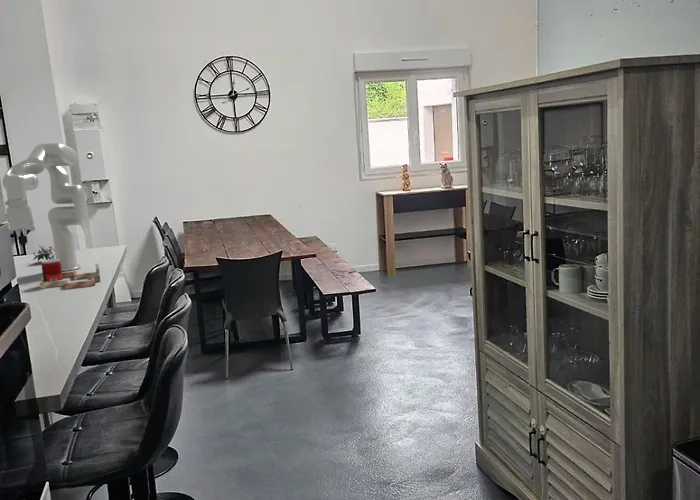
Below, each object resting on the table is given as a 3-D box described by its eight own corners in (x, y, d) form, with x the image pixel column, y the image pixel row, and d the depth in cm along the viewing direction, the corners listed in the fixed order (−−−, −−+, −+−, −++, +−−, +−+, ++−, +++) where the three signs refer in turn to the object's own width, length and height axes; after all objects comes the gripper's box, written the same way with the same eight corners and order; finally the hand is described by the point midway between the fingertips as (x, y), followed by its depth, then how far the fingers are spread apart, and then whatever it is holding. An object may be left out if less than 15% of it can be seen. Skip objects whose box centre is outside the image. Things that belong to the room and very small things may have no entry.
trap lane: (39, 292, 276) (38, 278, 275) (43, 279, 303) (41, 267, 302) (101, 284, 285) (99, 271, 284) (99, 273, 312) (97, 261, 311)
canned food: (67, 282, 294) (64, 258, 292) (53, 286, 286) (50, 262, 284) (53, 282, 296) (50, 258, 294) (40, 286, 289) (37, 262, 287)
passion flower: (54, 271, 352) (56, 255, 345) (31, 270, 347) (33, 254, 340) (54, 257, 360) (56, 241, 353) (32, 256, 355) (34, 240, 348)
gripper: (-3, 205, 275) (3, 248, 278) (36, 202, 281) (42, 244, 284) (-1, 204, 282) (5, 245, 285) (37, 201, 287) (42, 242, 291)
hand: (23, 244), depth 284 cm, fingers closed
